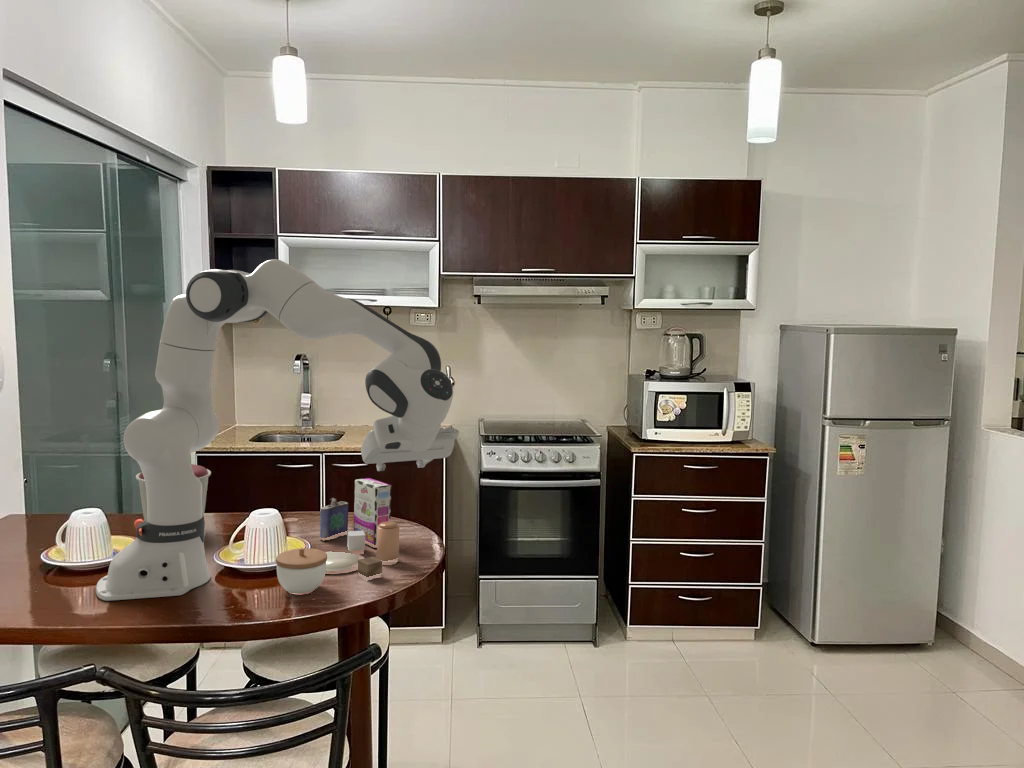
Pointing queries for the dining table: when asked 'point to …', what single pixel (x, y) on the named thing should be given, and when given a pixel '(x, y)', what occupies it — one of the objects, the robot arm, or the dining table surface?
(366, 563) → the walnut block
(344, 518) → the flask
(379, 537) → the tan cylinder
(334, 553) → the cream plate
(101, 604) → the dining table surface
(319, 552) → the lidded jar
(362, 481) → the candy bar box
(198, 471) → the canister
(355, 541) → the grey block
